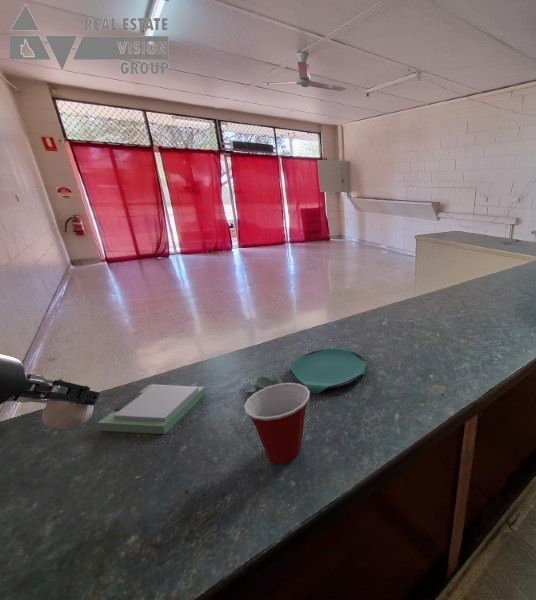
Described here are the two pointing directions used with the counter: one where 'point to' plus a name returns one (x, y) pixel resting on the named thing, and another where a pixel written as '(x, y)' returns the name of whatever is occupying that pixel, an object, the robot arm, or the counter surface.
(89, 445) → the counter surface
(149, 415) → the scale
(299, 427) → the plastic cup
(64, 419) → the garlic bulb
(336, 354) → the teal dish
